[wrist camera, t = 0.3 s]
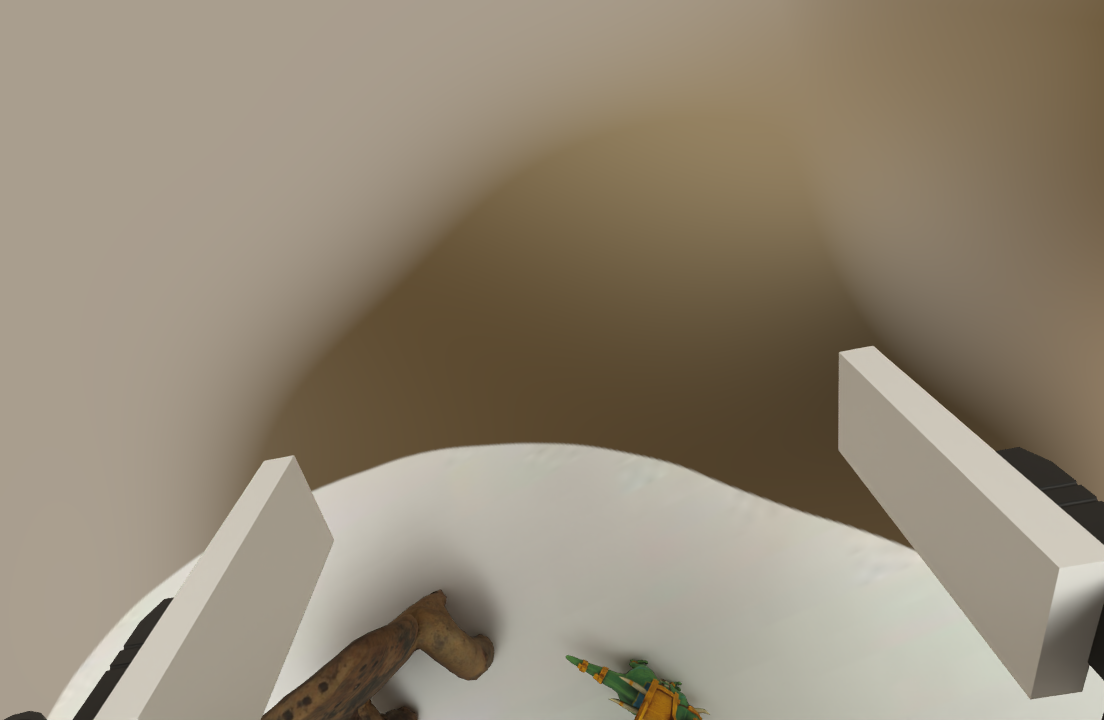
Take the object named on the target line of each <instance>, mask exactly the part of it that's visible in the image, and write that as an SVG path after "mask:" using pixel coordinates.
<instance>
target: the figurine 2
mask: <svg viewBox="0 0 1104 720" xmlns="http://www.w3.org/2000/svg"><path fill="white" fill-rule="evenodd" d="M566 659H568V660H569V661H570V662H571V663H572V664H574V665H576V666H577V668H579V671H581V672H587V673H589V674H590V675H592V676H593V678H594V679H595V680H597V682H599V683H600V684H602V683H603V684H604V685H606V686H608V687H610V688H612V689H613V690H614V691H616V692H617V693H618V696H619V699H620V700H619V699H614V698H612V699H609V700H611V701H614V702H616V703H617V704H619V705H620V706H622V707H623V708H625V709H627V710H628V711H630V712H631V713H632V714H634V715H636V717H635V719H634V720H702V718H701V717H700V715H699V713H706V714H709V713H708V712H707V711H706V710H705V709H700V708H693V707H692V706H690V705H689V704H688V702H687V699H686V697H685V695H684V694H682V693H681V692H679V691H681V689H680V688H679V687H678V686H677V685H681V684H682V683H681V682H675V683H673V682H671V683H668V682H667V681H666V680H663V679H661V680H659V679H657V678H656V676H655V675H654V673H653V671H652V670H650V669H649V668H648V667H647V666H646V665H644V664H643V663H645V664H648V662H647V661H643V660H639V661H634V660H633V659H632V660H630V661H631V663H630V664H629V665H630V666H631V667H632V668H633V670H631V671H629V672H628V673H627V674H621V673H616V672H614V671H611V670H608V669H609V668H607V667H599V666H596V665H593V664H590V663H588V661H586V660H580V659H578V658H576V657H573V656H569V655H567V656H566ZM709 715H710V714H709Z"/></svg>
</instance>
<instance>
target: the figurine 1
mask: <svg viewBox="0 0 1104 720" xmlns="http://www.w3.org/2000/svg"><path fill="white" fill-rule="evenodd" d="M445 604H446V596H445V595H444V594H443V592H442V590H438V591H435V592H433V593H431V594H430V595H428V596H425V597H423V598H422V599H421V600H419V601H418V602H416V603H415V604H413V605H412V606H410V607H409V608H408V609H406V610H405V611H404V612H402V614H401V615H400V616H398V617H397V618H396V619H395V620H393V621H392V622H391V623H389V624H388V625H386V626H384V627H381V628H379V629H376V630H374V631H371V632H369V633H367V634H365V635H364V636H362V637H360V638H358V639H356V640H354V641H353V642H352V643H351V644H349V645H348V646H347V647H346V648H345V649H343V650H342V651H341V652H340V653H339V654H338V655H337V656H336V657H334V658H333V659H332V660H331V661H329V662H328V663H327V664H325V665H324V666H323V667H322V668H321V669H320V670H318V671H317V672H316V673H315V674H314V675H312V676H311V677H310V678H309V679H308V680H306V681H305V682H304V683H303V684H301V685H300V686H299V687H297V688H296V689H295V690H293V691H292V692H290V693H289V694H287V695H286V696H285V697H283V699H282V700H281V701H280V702H278V703H277V704H276V705H275V706H274V707H273V708H272V709H270V710H269V711H268V712H267V713H265V714H264V715H263V716H262V718H261V720H417V716H416V714H415V713H414V712H411V711H410V710H409V709H408V708H406V707H403V708H400V709H398V710H395V709H394V710H391V711H389V712H387V713H386V714H380V713H379V711H378V710H377V709H376V707H375V706H374V705H373V704H371V700H370V698H371V697H372V696H373V695H375V694H376V693H377V692H378V691H379V690H380V689H381V688H382V687H383V686H384V684H385V683H386V682H387V681H388V680H389V679H390V678H391V677H392V676H393V675H394V674H395V673H396V672H397V671H398V669H399V668H400V667H401V666H402V665H403V664H404V663H405V662H406V661H407V660H408V659H409V657H410V656H411V655H412V653H413V652H414V651H416V650H418V649H421V650H422V651H424V652H425V653H427V654H428V655H429V656H430V657H431V658H432V659H434V660H435V661H436V662H438V663H439V664H441V665H442V666H444V667H445V668H446V669H448V670H449V671H450V672H452V673H454V674H455V675H457V676H458V677H459V678H462V679H465V680H477V679H478V678H479V677H480V676H481V675H482V674H483V673H484V672H485V671H487V670H488V668H489V667H490V666H491V664H492V662H493V658H494V647H493V644H492V642H491V641H490V640H489V638H488V637H486V636H483V635H480V634H479V635H478V636H476V637H470V636H469V635H468V634H466V633H465V632H464V631H462V630H461V629H460V628H459V627H458V626H457V625H456V623H455V622H454V621H453V619H452V618H451V616H450V614H449V613H448V611H447V610H446V608H445V607H444V606H445Z"/></svg>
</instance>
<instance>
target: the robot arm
mask: <svg viewBox="0 0 1104 720" xmlns="http://www.w3.org/2000/svg"><path fill="white" fill-rule="evenodd" d="M839 451H840V452H841V454H842V455H843V456H844V458H845V459H846V460H847V462H848V463H849V464H850V465H851V467H852V468H853V469H854V471H855V472H856V473H857V475H858V476H859V477H860V478H861V480H862V481H863V482H864V483H865V485H866V486H867V488H868V489H869V490H870V491H871V493H872V494H873V495H874V497H875V498H876V499H877V501H878V502H879V503H880V504H881V506H882V507H883V508H884V510H885V511H886V512H887V514H888V515H889V516H890V517H891V519H892V520H893V521H894V522H895V524H896V525H897V527H898V528H899V529H900V530H901V532H902V533H903V534H904V536H905V537H906V538H907V539H908V541H909V542H910V543H911V544H912V546H913V547H914V549H915V550H916V551H917V553H918V554H919V555H920V556H921V558H922V559H923V560H924V562H925V563H926V564H927V566H928V567H929V568H930V569H931V571H932V572H933V573H934V575H935V576H936V577H937V579H938V580H939V581H940V583H941V584H942V585H943V586H944V588H945V589H946V590H947V592H948V593H949V594H950V596H951V597H952V598H953V599H954V601H955V602H956V603H957V605H958V606H959V607H960V609H961V610H962V611H963V612H964V614H965V615H966V616H967V618H968V619H969V620H970V622H971V623H972V624H973V625H974V627H975V628H976V629H977V631H978V632H979V633H980V635H981V636H982V637H983V638H984V640H985V641H986V642H987V644H988V645H989V646H990V648H991V649H992V650H993V651H994V653H995V654H996V655H997V657H998V658H999V659H1000V661H1001V662H1002V663H1003V664H1004V666H1005V667H1006V668H1007V670H1008V671H1009V672H1010V674H1011V675H1012V676H1013V677H1014V679H1015V680H1016V681H1017V683H1018V684H1019V685H1020V687H1021V688H1022V689H1023V690H1024V692H1025V693H1026V694H1027V696H1028V697H1029V698H1030V699H1036V698H1042V697H1049V696H1056V695H1062V694H1069V693H1076V692H1082V690H1083V687H1084V683H1085V680H1086V676H1087V672H1088V669H1089V665H1090V666H1091V667H1092V668H1093V669H1094V670H1095V671H1096V672H1097V673H1098V675H1099V676H1100V677H1101V678H1102V679H1103V680H1104V502H1102V501H1098V500H1097V498H1096V496H1095V495H1093V494H1092V493H1091V492H1090V491H1088V490H1087V489H1086V488H1084V487H1083V486H1082V485H1077V483H1076V480H1074V479H1073V478H1072V477H1071V476H1069V475H1068V474H1067V473H1065V472H1064V471H1063V470H1062V469H1060V468H1059V467H1058V466H1057V465H1055V464H1054V463H1053V462H1051V461H1049V460H1047V459H1045V458H1043V457H1040V456H1038V455H1036V454H1034V453H1031V452H1029V451H1027V450H1025V449H1022V448H1020V447H1017V448H1012V449H1005V450H1000V451H994V450H993V449H992V448H991V447H989V446H988V445H987V444H986V443H985V442H984V441H983V440H981V439H980V438H979V437H978V436H977V435H976V434H974V433H973V432H972V431H971V430H970V429H969V428H968V427H966V426H965V425H964V424H963V423H962V422H961V421H959V420H958V419H957V418H956V417H955V416H954V415H952V414H951V413H950V412H949V411H948V410H947V409H945V408H944V407H943V406H942V405H941V404H939V403H938V402H937V401H936V400H935V399H934V398H933V397H932V396H930V395H929V394H928V393H927V392H926V391H925V390H923V389H922V388H921V387H920V386H919V385H918V384H917V383H915V382H914V381H913V380H912V379H910V378H909V377H908V376H907V375H906V374H905V373H904V372H903V371H901V370H900V369H899V368H898V367H897V366H896V365H894V364H893V363H892V362H891V361H890V360H889V359H887V358H886V357H885V356H884V355H883V354H882V353H881V352H879V351H878V350H877V349H876V348H875V347H874V346H870V347H865V348H859V349H854V350H849V351H844V352H839ZM333 542H334V538H333V536H332V534H331V532H330V530H329V528H328V526H327V524H326V522H325V520H324V517H323V515H322V513H321V511H320V509H319V507H318V505H317V503H316V501H315V498H314V496H313V494H312V492H311V490H310V488H309V486H308V484H307V482H306V480H305V477H304V475H303V473H302V471H301V469H300V467H299V465H298V463H297V460H296V459H295V456H294V455H293V456H289V457H283V458H278V459H272V460H267V461H264V462H263V464H262V465H261V467H260V468H259V470H258V471H257V473H256V474H255V476H254V477H253V479H252V481H251V482H250V483H249V485H248V486H247V488H246V489H245V491H244V492H243V494H242V495H241V497H240V498H239V500H238V502H237V503H236V505H235V506H234V508H233V509H232V511H231V512H230V514H229V515H228V517H227V518H226V520H225V521H224V523H223V524H222V526H221V527H220V529H219V530H218V532H217V533H216V535H215V537H214V538H213V539H212V541H211V542H210V544H209V545H208V547H207V548H206V550H205V551H204V553H203V554H202V556H201V558H200V559H199V561H198V562H197V564H196V565H195V567H194V568H193V570H192V571H191V573H190V574H189V576H188V577H187V579H186V580H185V582H184V583H183V585H182V586H181V588H180V589H179V591H178V592H177V594H176V595H175V597H173V598H168V599H164V600H163V601H162V602H161V603H160V604H159V605H158V606H157V607H155V608H154V609H153V610H152V611H151V612H150V613H149V614H148V615H147V616H146V617H145V618H144V619H143V620H142V621H141V622H140V623H139V624H138V626H137V627H136V629H135V630H134V632H133V633H132V635H131V636H130V637H129V639H128V640H127V642H126V643H125V645H124V650H122V651H120V652H119V653H118V655H117V656H116V658H115V659H114V661H113V662H112V663H111V665H110V670H109V671H106V672H105V674H104V675H103V677H102V678H101V679H100V681H99V682H98V684H97V685H96V687H95V688H94V690H93V691H92V692H91V694H90V695H89V697H88V698H87V700H86V701H85V703H84V704H83V705H82V707H81V708H80V710H79V711H78V713H77V714H76V716H75V717H74V718H73V720H261V718H262V715H263V713H264V711H265V708H266V706H267V703H268V701H269V698H270V696H271V693H272V691H273V689H274V686H275V684H276V681H277V679H278V676H279V674H280V671H281V669H282V667H283V664H284V662H285V659H286V657H287V654H288V652H289V649H290V647H291V645H292V642H293V640H294V637H295V635H296V632H297V630H298V627H299V625H300V623H301V620H302V618H303V615H304V613H305V610H306V608H307V605H308V603H309V601H310V598H311V596H312V593H313V591H314V588H315V586H316V583H317V581H318V579H319V576H320V574H321V571H322V569H323V566H324V564H325V561H326V559H327V557H328V554H329V552H330V549H331V547H332V544H333ZM4 720H47V719H46V718H45V717H44V716H43V715H42V714H41V713H39V712H33V711H27V712H24V713H20V714H16V715H12V716H10V717H8V718H6V719H4ZM1102 720H1104V714H1103V717H1102Z"/></svg>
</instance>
